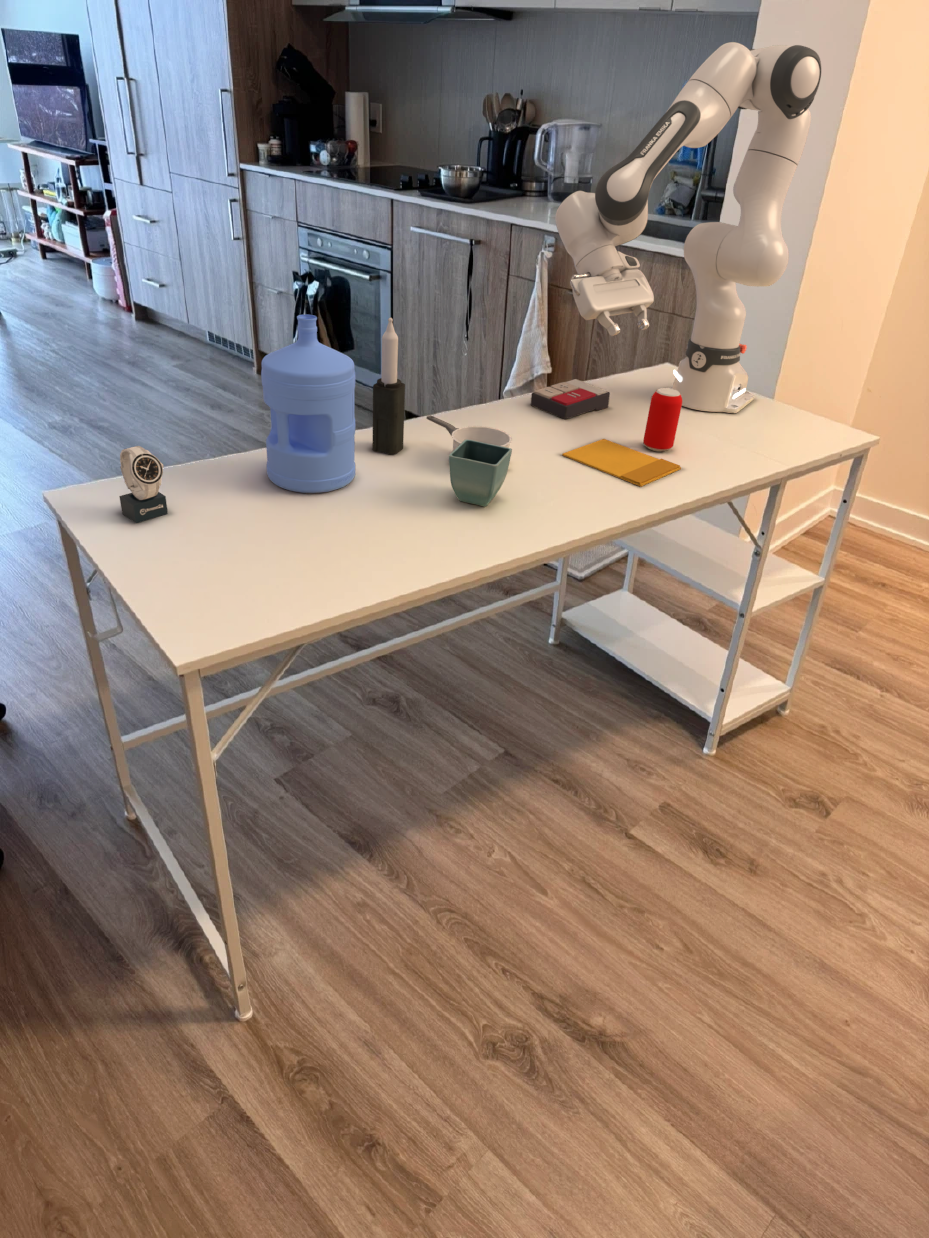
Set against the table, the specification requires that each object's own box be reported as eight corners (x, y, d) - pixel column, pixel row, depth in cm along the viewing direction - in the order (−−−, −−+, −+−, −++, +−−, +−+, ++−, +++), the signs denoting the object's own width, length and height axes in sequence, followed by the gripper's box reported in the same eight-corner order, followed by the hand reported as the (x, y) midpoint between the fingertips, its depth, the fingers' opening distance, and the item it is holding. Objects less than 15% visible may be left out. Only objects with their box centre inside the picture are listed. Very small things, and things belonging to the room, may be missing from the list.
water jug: (310, 453, 164) (305, 300, 149) (373, 476, 157) (375, 318, 142) (248, 477, 153) (236, 315, 138) (313, 503, 146) (308, 335, 131)
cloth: (603, 440, 181) (604, 437, 180) (680, 469, 170) (681, 466, 170) (561, 455, 172) (562, 452, 172) (640, 486, 161) (641, 483, 161)
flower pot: (492, 514, 147) (497, 465, 142) (444, 503, 149) (447, 455, 144) (508, 495, 154) (513, 448, 149) (462, 485, 156) (465, 438, 151)
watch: (142, 527, 134) (132, 461, 128) (116, 510, 139) (106, 445, 133) (174, 517, 138) (166, 453, 132) (148, 501, 142) (139, 437, 136)
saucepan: (447, 436, 177) (448, 409, 174) (521, 466, 166) (524, 438, 163) (406, 449, 169) (407, 421, 166) (481, 481, 158) (484, 452, 155)
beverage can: (644, 440, 182) (654, 385, 176) (673, 445, 181) (685, 389, 174) (640, 450, 177) (651, 393, 171) (670, 455, 176) (682, 398, 169)
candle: (370, 450, 167) (371, 318, 154) (382, 442, 171) (384, 312, 158) (393, 455, 166) (397, 322, 152) (405, 447, 170) (409, 317, 156)
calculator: (530, 389, 194) (575, 376, 203) (529, 408, 197) (573, 394, 205) (566, 403, 188) (611, 389, 196) (564, 422, 190) (609, 407, 199)
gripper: (577, 265, 167) (607, 329, 166) (642, 258, 179) (671, 317, 178) (557, 285, 172) (587, 346, 171) (622, 276, 184) (650, 333, 183)
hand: (630, 331), depth 175 cm, fingers open, 8 cm apart
